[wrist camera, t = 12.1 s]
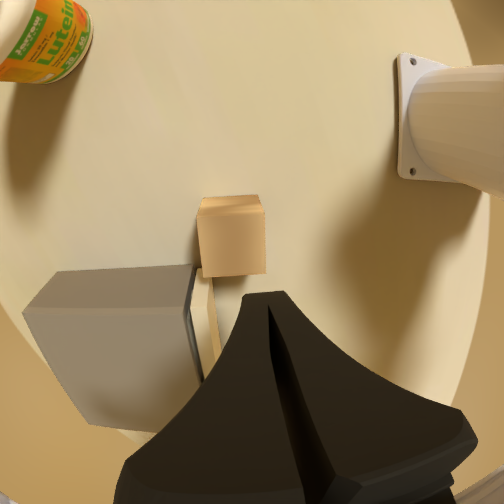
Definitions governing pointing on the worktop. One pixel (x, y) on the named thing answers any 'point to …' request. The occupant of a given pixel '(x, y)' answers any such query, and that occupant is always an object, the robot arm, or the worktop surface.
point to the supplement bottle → (42, 39)
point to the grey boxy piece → (119, 342)
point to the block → (232, 236)
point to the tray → (203, 325)
